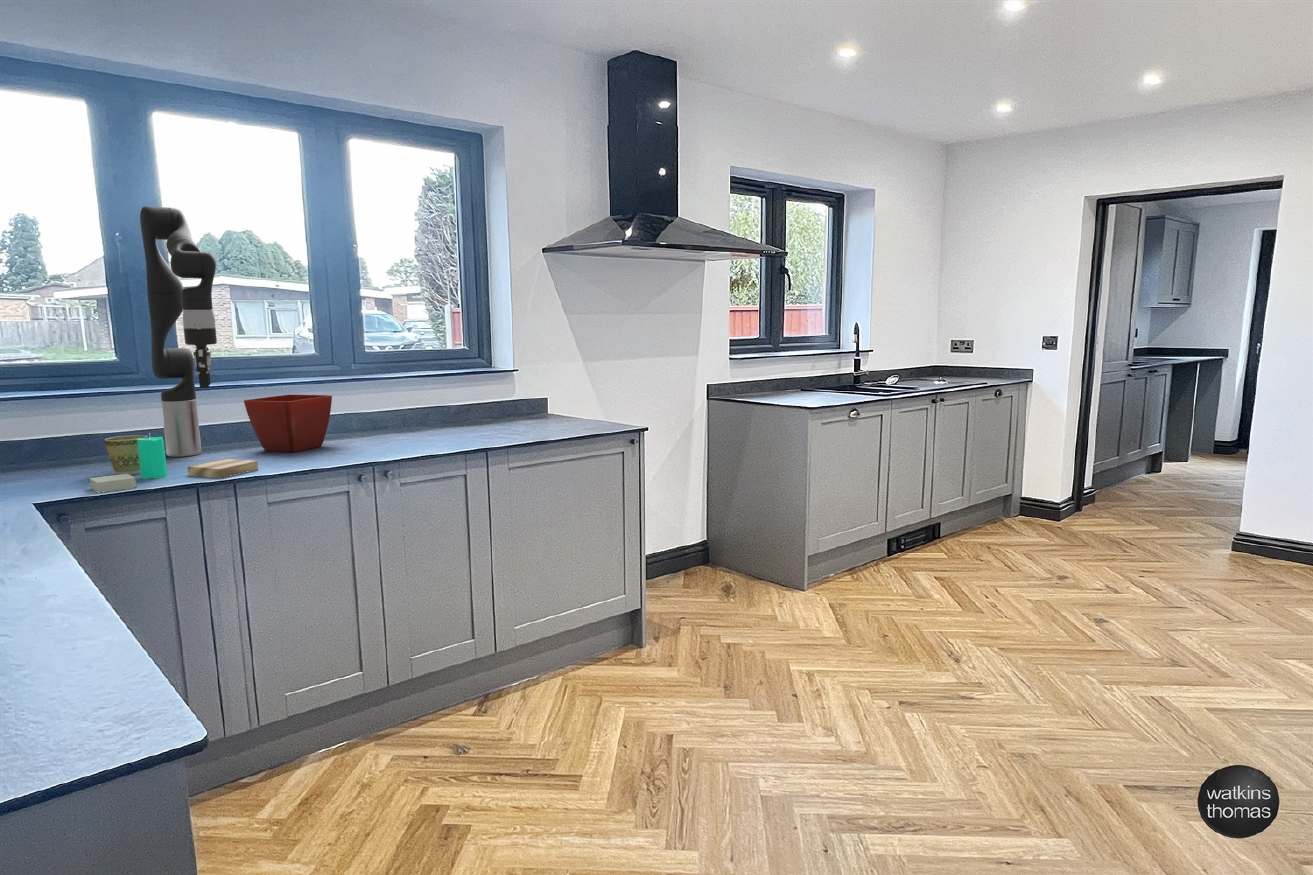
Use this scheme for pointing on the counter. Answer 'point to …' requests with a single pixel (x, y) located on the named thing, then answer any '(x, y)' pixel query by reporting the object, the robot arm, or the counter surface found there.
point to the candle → (152, 457)
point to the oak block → (222, 468)
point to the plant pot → (290, 421)
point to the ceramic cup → (124, 453)
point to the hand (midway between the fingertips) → (205, 386)
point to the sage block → (113, 482)
